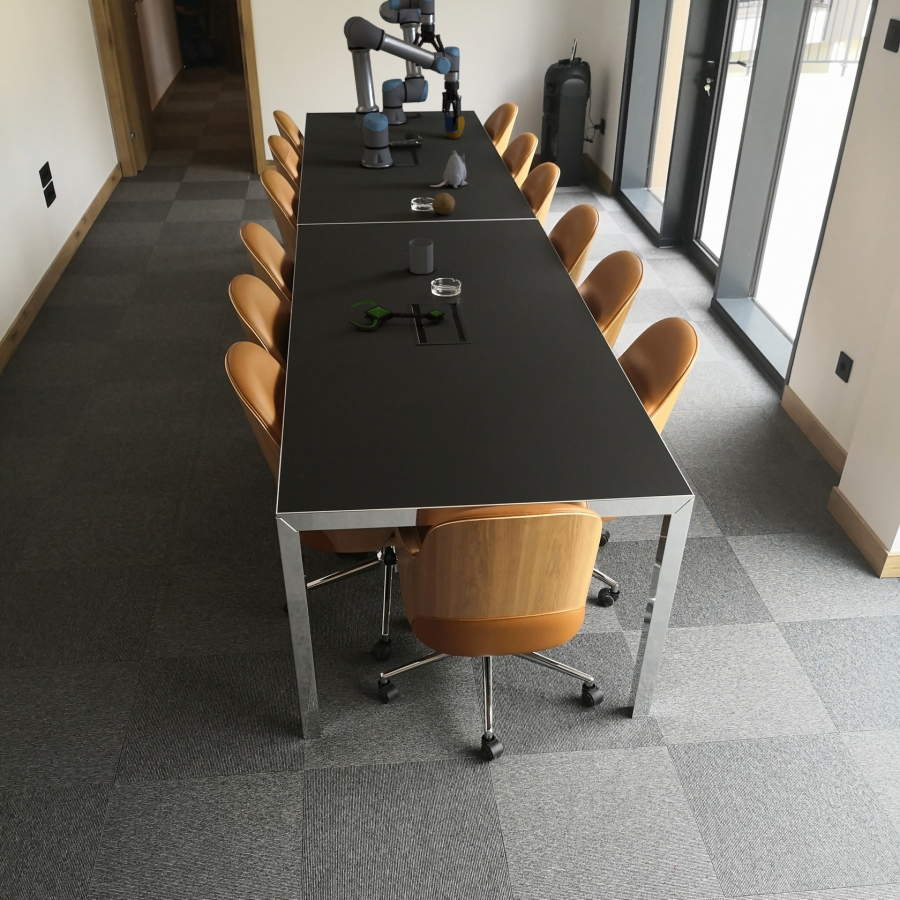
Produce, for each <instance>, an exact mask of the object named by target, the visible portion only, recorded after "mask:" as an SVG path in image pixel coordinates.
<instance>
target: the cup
mask: <svg viewBox="0 0 900 900" xmlns="http://www.w3.org/2000/svg"><path fill="white" fill-rule="evenodd" d="M408 253H409V272H411V273H412V274H416V275H426V274H430V273H432V272H434V241H433V240H431V239H428V238H422V237H421V238H420V237H419V238H414V239H411V240H410V241H409V242H408Z"/></svg>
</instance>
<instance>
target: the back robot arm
mask: <svg viewBox="0 0 900 900" xmlns="http://www.w3.org/2000/svg"><path fill="white" fill-rule="evenodd" d="M435 1H436V0H385V1H384V2H382V3H381V4H380V6H379V8H378V9H379V11H378V13H379V16H380V18H381V19H382V20H383V21H384V22H386V23H388V24H395V25H399V29H400V30H401V31H402V36H403V40H404V41H406V42H409V43H411V44H413V45H416V46H418V47H421V48H422V46H423V45H424V44H430V45H432V47H433V49H434V50H435V52H444V49H445V47H444V44H443V41H442V39H441V34H440V33H439V34H435V33H436V24H435V23H436V16H435V15H436V14H435V12H436V10H435V9H436V8H435V7H436V2H435ZM419 28H420V32H419ZM404 60H405V59H404ZM405 71H406V75H405V77H404V78H403V79H404V81H403V79H402V78H390V79H386V80H385V81H383V82H382V84H381V99H382V100H381V101H382V111H381V114H384V115H385V116H386V117H387V120H388V126H400V125H405V124H407V119H415V118H420V117H421V116H422V114H421V113H419V112H417V115H409V116H408V115H406V114H405V111H404V104H414V103H417V104H419V103H424V102H426V101H427V99H428V97H429V96H428V95H429V81H428V79H427V80H426V78H425V76H424V75H423V74H422V67H421V66H420V65H417V64H415V63H412V62H410V61H407V60H405ZM418 113H419V114H418ZM419 115H420V116H419Z"/></svg>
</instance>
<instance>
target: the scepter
mask: <svg viewBox="0 0 900 900" xmlns="http://www.w3.org/2000/svg"><path fill="white" fill-rule="evenodd" d="M362 304H371V305H373V306H372V307H371V308H367V309H366V310H364V311H363V313H364V314H365V315H364V316H363V318H364V319H366V320H368V321H369V322H372V323H373V324H372V325H369V326H367V325H360V324H358V323H356V322H353V321H350V320H349V321H348V324H350V325H351V326H353V327H354V328H356V329H359V330H361V331H375V330H377V329H378V327H379V326H380V325H382V324H383V323H385V322H388V321H389V320H390V321H391V319H394V318H396V319H397V318H398V319H399V318H400V319H426V320H428V321H431V322H433V323H434V324H436V323H439V322H441V321H444V320H445V319H446V318H445V317H444V315H446V313H445V312H443V311H441V310H438V309H434V310H433V309H432V310H431V311H429V312H426V313H425V312H420V313H419V312H393V311H392V310H390V309H388V308H385V307H384V306H382V305H380V304H379V302H378V301H377V300H376V299H369V298H368V299H360V300H358V301H355V303H352V304H351V305H349V306H348V307H349V308H353V307H356V306H359V305H362Z"/></svg>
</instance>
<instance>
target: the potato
mask: <svg viewBox="0 0 900 900" xmlns="http://www.w3.org/2000/svg"><path fill="white" fill-rule="evenodd" d="M455 206H456V200H455V198H454V196H452V195H451V194H449V193H448V192H439V193H437V194H436V195H435V197H434V198H433V200H432V201H431V207H432V209H433V210H434V212H436V213H437V214H439V215H441V216H442V215H449V214H450V213H452V212H453V211H454V209H455Z"/></svg>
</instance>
